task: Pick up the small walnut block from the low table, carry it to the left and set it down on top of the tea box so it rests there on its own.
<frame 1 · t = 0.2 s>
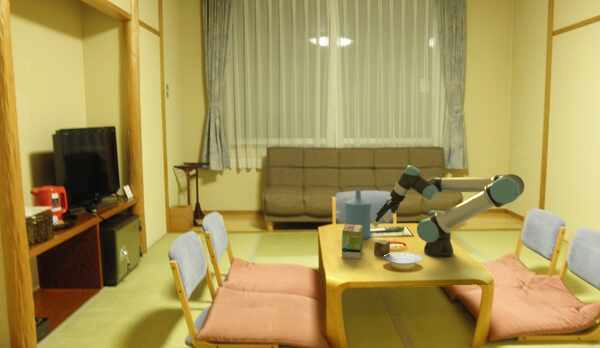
hand: (380, 223, 264), 15 cm above the table, tool tilted 30°, fingers open, 13 cm apart
walnut block: (381, 254, 260), on the table
tea box: (352, 254, 260), on the table
water jug: (357, 236, 295), on the table
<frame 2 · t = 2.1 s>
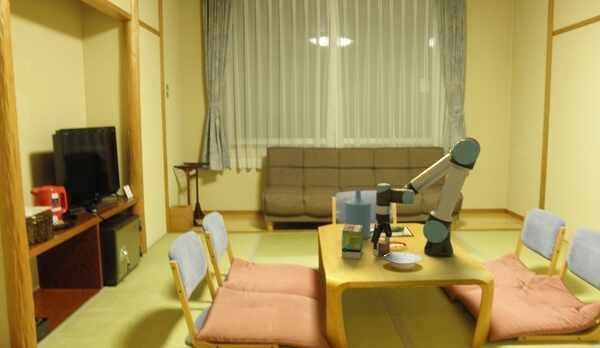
hand: (381, 251, 260), 1 cm above the table, tool pointing down, fingers open, 13 cm apart
nothing on the table moved.
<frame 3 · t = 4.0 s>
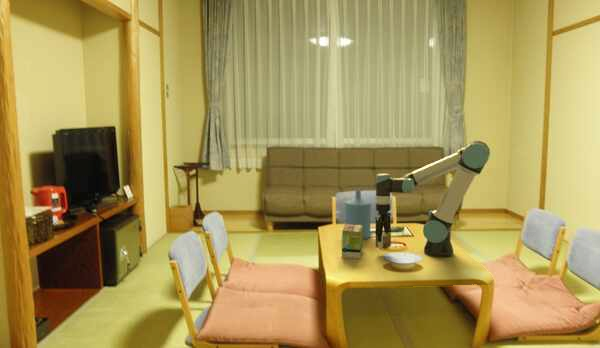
hand: (383, 245, 259), 5 cm above the table, tool pointing down, fingers closed on walnut block, 6 cm apart
walnut block: (383, 246, 259), point 4 cm above the table, touching gripper
everything else where it was.
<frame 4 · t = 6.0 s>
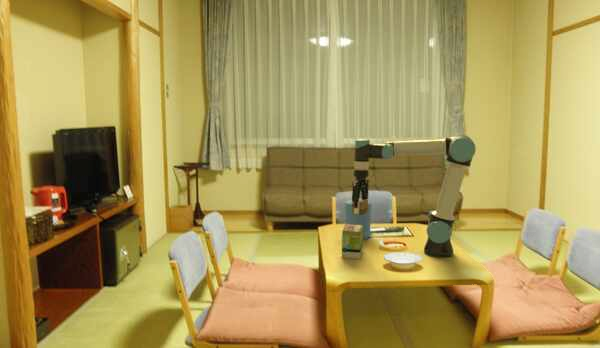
hand: (359, 212, 257), 23 cm above the table, tool pointing down, fingers closed on walnut block, 6 cm apart
walnut block: (359, 213, 257), point 22 cm above the table, touching gripper
everything else where it was.
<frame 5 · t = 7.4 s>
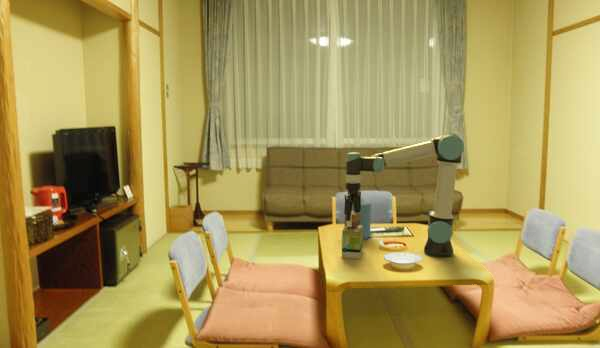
hand: (352, 225, 258), 16 cm above the table, tool pointing down, fingers closed on walnut block, 6 cm apart
walnut block: (352, 225, 258), point 16 cm above the table, touching gripper
everything else where it was.
when the fingers open (15 cm above the table, at t = 7.9 s): walnut block stays where it is, resting on tea box.
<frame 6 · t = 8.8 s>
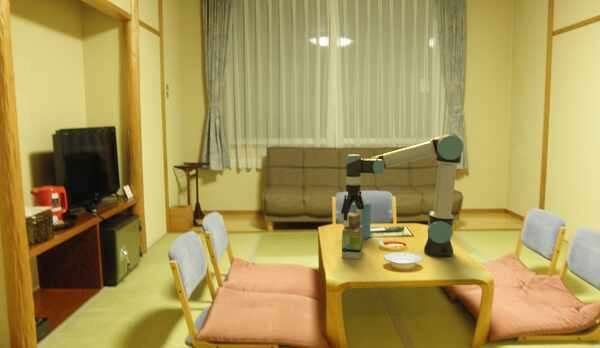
hand: (352, 223, 258), 17 cm above the table, tool pointing down, fingers open, 13 cm apart
walnut block: (352, 227, 258), point 15 cm above the table, touching tea box
tea box: (352, 254, 260), on the table, touching walnut block
everything else where it was.
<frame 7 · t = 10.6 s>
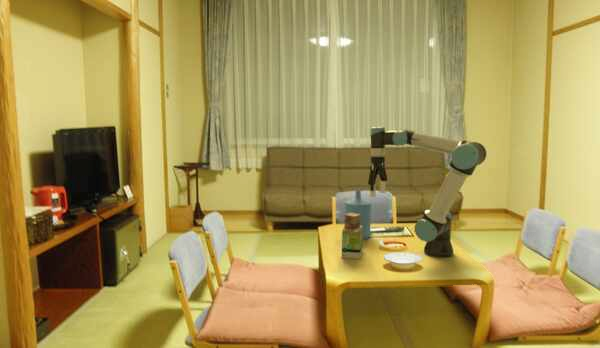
hand: (377, 194, 265), 30 cm above the table, tool pointing down, fingers open, 13 cm apart
nothing on the table moved.
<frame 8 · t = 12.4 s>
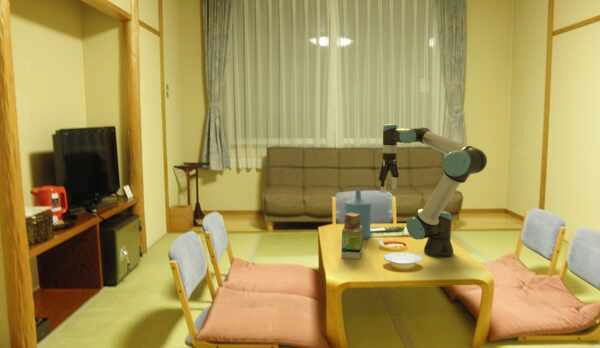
hand: (388, 190, 270), 32 cm above the table, tool pointing down, fingers open, 13 cm apart
nothing on the table moved.
at the end: walnut block inside the target area on the tea box (0.0 cm from its centre), point 15.0 cm above the tea box's base; walnut block tilted 0°; the gripper is holding nothing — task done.
